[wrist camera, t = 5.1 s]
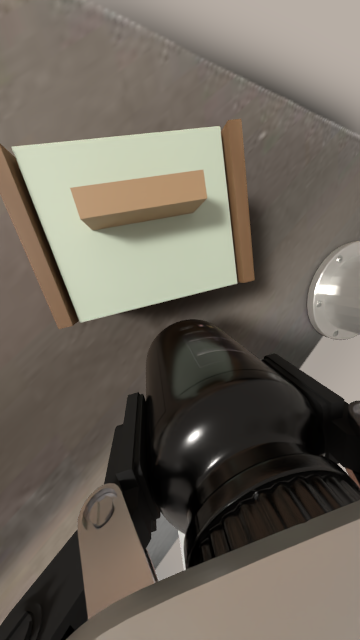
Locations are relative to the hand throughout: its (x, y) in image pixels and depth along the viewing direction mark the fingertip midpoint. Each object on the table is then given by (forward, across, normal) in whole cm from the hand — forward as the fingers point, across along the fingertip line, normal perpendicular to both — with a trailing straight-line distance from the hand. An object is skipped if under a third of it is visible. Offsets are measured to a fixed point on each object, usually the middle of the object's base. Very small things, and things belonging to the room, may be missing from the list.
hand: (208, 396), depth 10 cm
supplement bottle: (+5, 0, 0) cm, 5 cm away
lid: (+5, +1, -10) cm, 11 cm away
